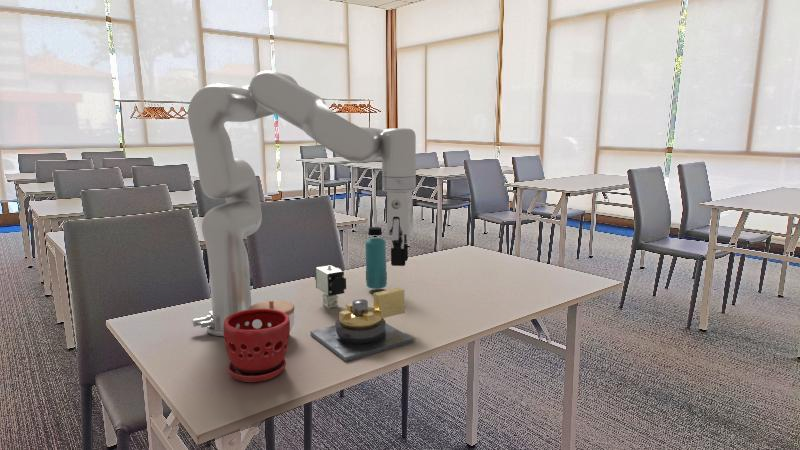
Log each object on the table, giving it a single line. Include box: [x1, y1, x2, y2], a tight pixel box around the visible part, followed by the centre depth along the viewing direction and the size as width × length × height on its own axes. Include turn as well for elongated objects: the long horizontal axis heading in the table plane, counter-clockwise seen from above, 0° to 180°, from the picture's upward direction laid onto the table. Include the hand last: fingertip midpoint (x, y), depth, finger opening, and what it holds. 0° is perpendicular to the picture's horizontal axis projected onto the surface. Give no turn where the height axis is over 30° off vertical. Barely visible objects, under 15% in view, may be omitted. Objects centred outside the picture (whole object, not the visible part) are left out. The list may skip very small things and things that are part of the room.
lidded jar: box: [249, 299, 295, 332], centre depth 126 cm, size 11×11×9 cm
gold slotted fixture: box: [338, 287, 405, 330], centre depth 126 cm, size 17×10×6 cm, turn 124°
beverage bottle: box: [364, 226, 388, 290], centre depth 161 cm, size 6×7×20 cm
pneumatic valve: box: [314, 264, 347, 310], centre depth 147 cm, size 6×12×12 cm, turn 32°
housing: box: [310, 318, 414, 362], centre depth 125 cm, size 18×18×4 cm
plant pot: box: [223, 309, 291, 383], centre depth 107 cm, size 13×13×12 cm
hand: (399, 262), depth 120 cm, fingers open, 3 cm apart
